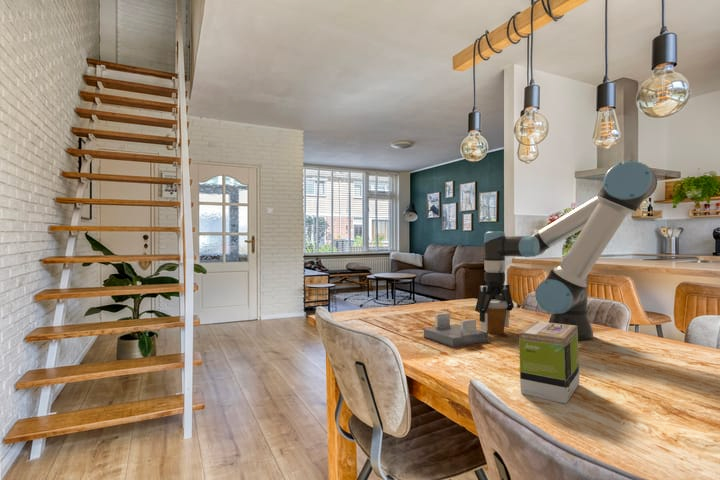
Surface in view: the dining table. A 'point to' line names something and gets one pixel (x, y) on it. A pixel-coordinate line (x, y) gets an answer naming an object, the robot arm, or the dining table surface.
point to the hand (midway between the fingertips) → (495, 328)
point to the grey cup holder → (455, 332)
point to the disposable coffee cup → (496, 316)
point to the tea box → (549, 361)
